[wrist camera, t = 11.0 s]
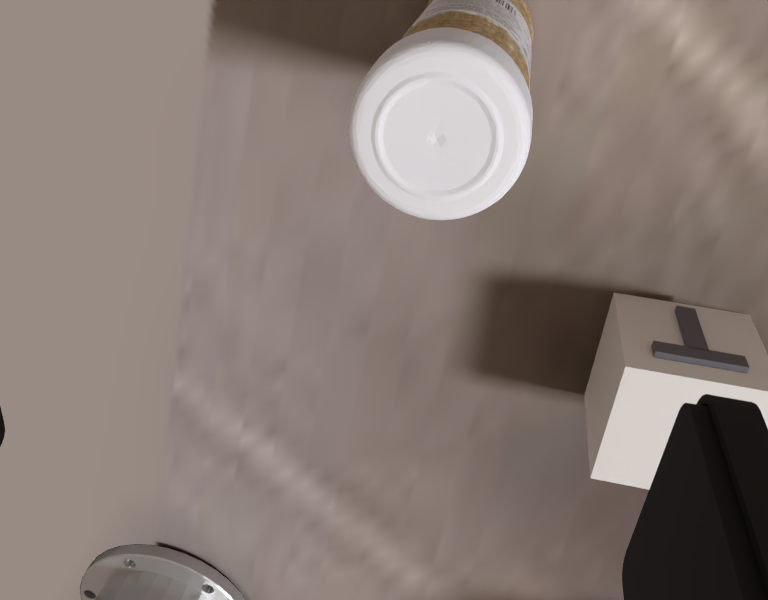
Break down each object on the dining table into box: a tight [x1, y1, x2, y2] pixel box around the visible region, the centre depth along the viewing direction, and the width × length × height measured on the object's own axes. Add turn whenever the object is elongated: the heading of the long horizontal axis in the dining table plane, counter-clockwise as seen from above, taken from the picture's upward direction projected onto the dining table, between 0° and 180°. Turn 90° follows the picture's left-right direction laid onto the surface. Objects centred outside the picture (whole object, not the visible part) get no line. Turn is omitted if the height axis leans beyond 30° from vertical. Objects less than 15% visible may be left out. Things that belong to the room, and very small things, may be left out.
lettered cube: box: [584, 293, 768, 490], centre depth 32 cm, size 6×6×6 cm
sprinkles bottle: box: [348, 0, 534, 220], centre depth 24 cm, size 5×5×14 cm
